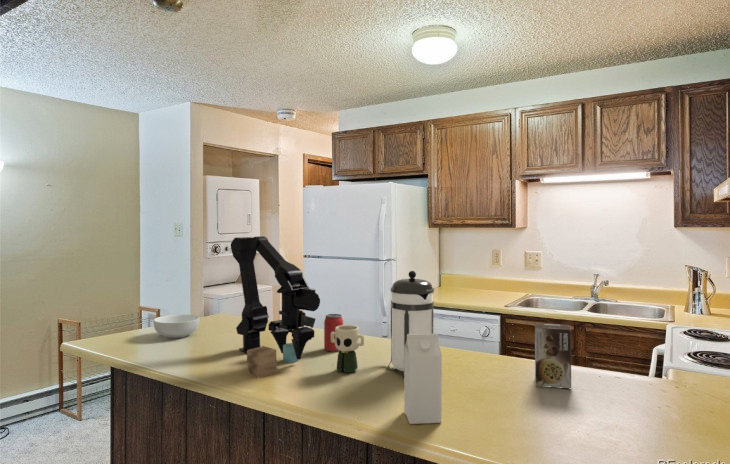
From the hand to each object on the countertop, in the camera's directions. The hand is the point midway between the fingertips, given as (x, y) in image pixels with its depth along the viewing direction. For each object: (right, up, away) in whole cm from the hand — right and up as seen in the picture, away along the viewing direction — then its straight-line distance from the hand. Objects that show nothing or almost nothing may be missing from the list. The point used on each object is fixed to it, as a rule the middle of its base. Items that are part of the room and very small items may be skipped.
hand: (290, 356), depth 149 cm
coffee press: (+37, -2, -10) cm, 38 cm away
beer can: (+13, -1, +13) cm, 18 cm away
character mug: (+18, -2, -10) cm, 21 cm away
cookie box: (+75, -2, -22) cm, 78 cm away
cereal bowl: (-50, -1, +32) cm, 59 cm away
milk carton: (+37, -3, -44) cm, 57 cm away
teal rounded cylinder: (0, -1, 0) cm, 1 cm away
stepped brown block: (-7, +2, -12) cm, 14 cm away
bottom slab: (-6, -2, -12) cm, 14 cm away
